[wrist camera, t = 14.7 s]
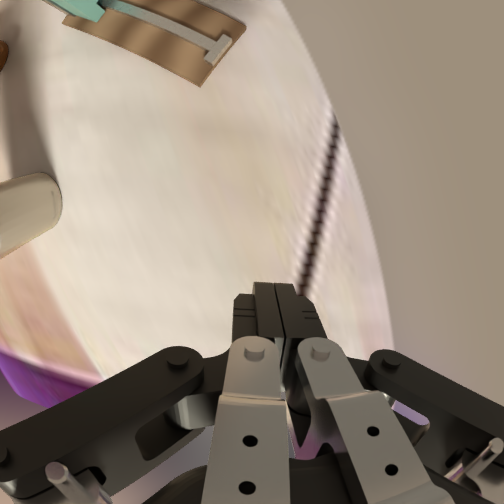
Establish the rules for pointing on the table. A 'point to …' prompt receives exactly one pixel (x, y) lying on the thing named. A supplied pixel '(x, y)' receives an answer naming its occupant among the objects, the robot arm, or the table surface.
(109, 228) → the table surface
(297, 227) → the table surface
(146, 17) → the rail
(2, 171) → the table surface
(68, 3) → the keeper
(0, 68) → the mug
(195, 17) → the board
